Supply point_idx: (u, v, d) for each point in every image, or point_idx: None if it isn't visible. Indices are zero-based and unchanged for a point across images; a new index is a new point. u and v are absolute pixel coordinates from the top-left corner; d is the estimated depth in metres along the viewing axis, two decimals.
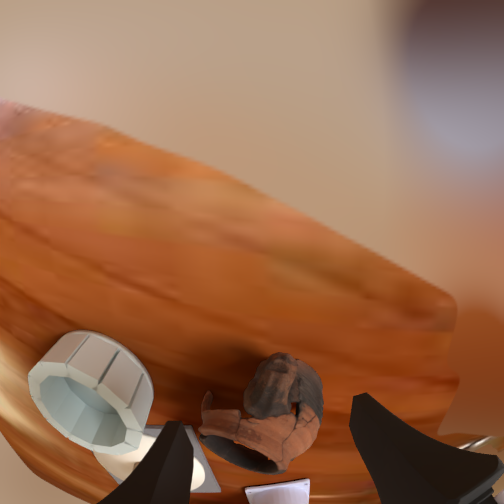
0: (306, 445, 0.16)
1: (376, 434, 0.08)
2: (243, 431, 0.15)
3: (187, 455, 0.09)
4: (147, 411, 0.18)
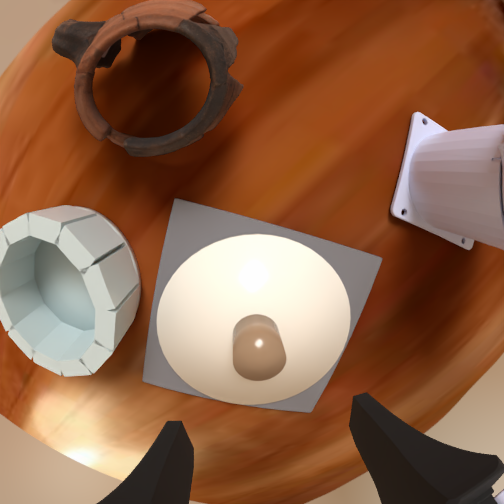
0: (172, 2, 0.09)
1: (376, 434, 0.08)
2: None
3: (187, 455, 0.09)
4: (78, 216, 0.14)
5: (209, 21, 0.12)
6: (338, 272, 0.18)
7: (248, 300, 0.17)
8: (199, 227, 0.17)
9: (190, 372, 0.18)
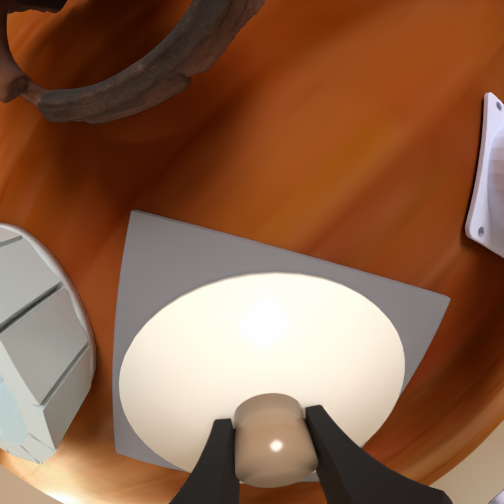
0: None
1: (322, 450, 0.08)
2: None
3: None
4: None
5: None
6: (394, 324, 0.11)
7: (258, 376, 0.10)
8: (174, 261, 0.09)
9: (176, 454, 0.11)
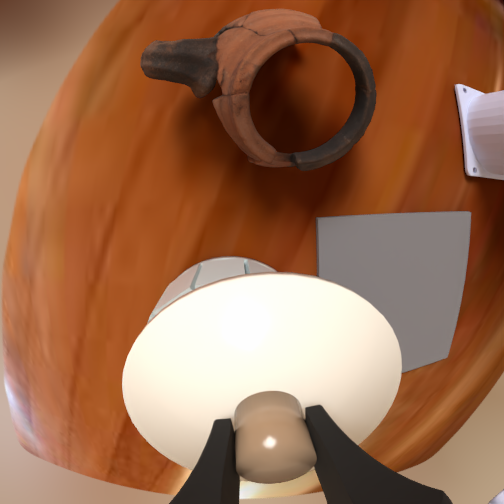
0: (291, 13, 0.09)
1: (322, 450, 0.08)
2: (230, 85, 0.10)
3: None
4: (241, 268, 0.15)
5: None
6: (448, 234, 0.18)
7: (256, 374, 0.10)
8: (345, 236, 0.18)
9: (180, 453, 0.12)
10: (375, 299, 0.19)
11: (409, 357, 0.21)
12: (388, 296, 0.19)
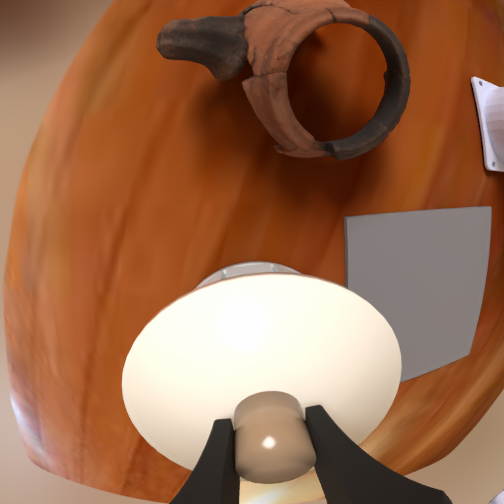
0: None
1: (322, 450, 0.08)
2: (265, 64, 0.09)
3: None
4: None
5: None
6: (471, 230, 0.17)
7: (256, 374, 0.10)
8: (374, 236, 0.16)
9: (180, 453, 0.12)
10: (403, 300, 0.17)
11: (434, 357, 0.19)
12: (415, 296, 0.18)
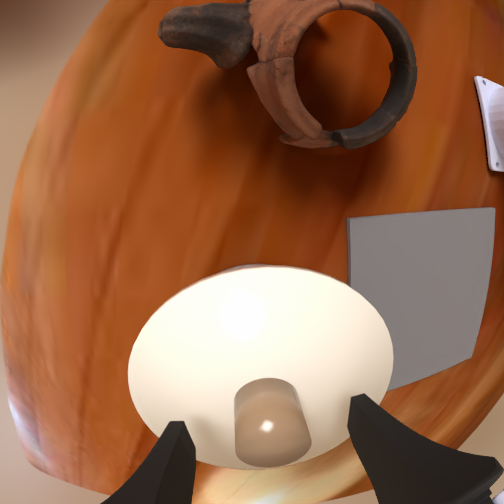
0: None
1: (373, 435, 0.08)
2: (271, 50, 0.08)
3: (189, 455, 0.09)
4: None
5: None
6: (475, 232, 0.16)
7: (255, 361, 0.11)
8: (378, 238, 0.16)
9: None
10: (406, 303, 0.17)
11: (437, 360, 0.19)
12: (419, 299, 0.17)
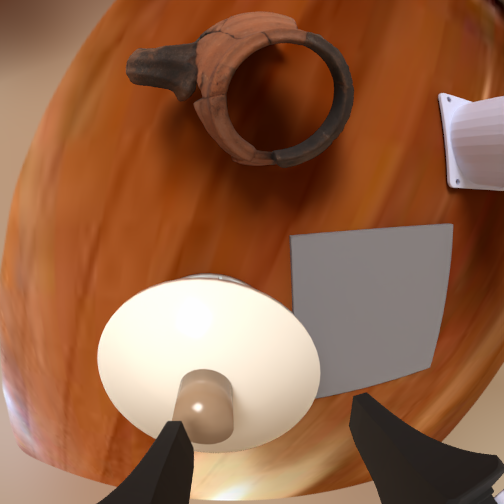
0: (267, 16, 0.10)
1: (376, 434, 0.08)
2: (208, 88, 0.11)
3: (187, 455, 0.09)
4: None
5: None
6: (428, 248, 0.19)
7: (193, 354, 0.14)
8: (319, 254, 0.18)
9: (141, 419, 0.15)
10: (351, 313, 0.20)
11: (390, 368, 0.21)
12: (364, 310, 0.20)
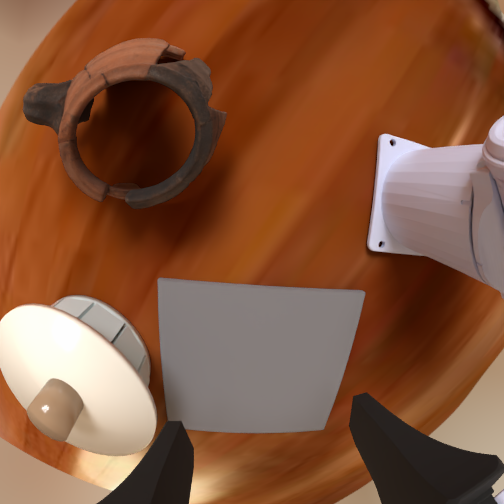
0: (133, 46, 0.09)
1: (376, 434, 0.08)
2: None
3: (187, 455, 0.09)
4: (78, 314, 0.15)
5: (175, 51, 0.13)
6: (323, 315, 0.19)
7: (51, 366, 0.13)
8: (185, 301, 0.18)
9: (27, 404, 0.14)
10: (220, 363, 0.19)
11: (270, 422, 0.21)
12: (236, 364, 0.19)
